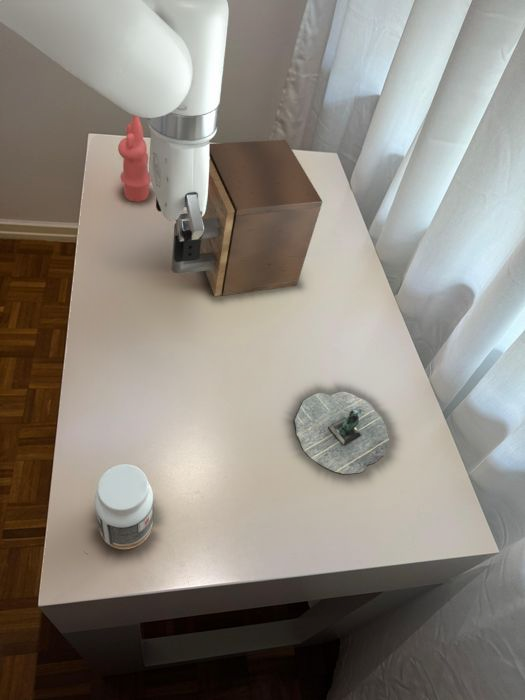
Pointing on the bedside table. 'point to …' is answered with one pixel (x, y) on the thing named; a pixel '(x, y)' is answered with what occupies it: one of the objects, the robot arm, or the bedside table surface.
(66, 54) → the robot arm
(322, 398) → the sculpture
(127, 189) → the figurine
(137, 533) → the pill bottle
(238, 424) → the bedside table surface
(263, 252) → the cabinet
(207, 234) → the door
